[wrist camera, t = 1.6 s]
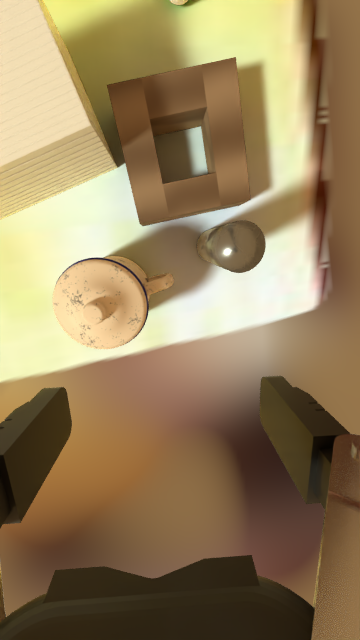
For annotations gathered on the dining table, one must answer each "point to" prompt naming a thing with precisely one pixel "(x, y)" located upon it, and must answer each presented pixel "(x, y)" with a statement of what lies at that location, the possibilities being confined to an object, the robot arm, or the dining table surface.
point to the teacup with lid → (105, 300)
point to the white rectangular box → (42, 112)
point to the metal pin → (233, 246)
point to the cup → (178, 2)
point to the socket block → (174, 115)
